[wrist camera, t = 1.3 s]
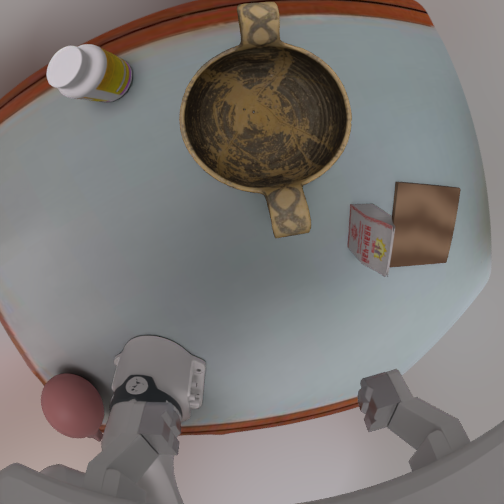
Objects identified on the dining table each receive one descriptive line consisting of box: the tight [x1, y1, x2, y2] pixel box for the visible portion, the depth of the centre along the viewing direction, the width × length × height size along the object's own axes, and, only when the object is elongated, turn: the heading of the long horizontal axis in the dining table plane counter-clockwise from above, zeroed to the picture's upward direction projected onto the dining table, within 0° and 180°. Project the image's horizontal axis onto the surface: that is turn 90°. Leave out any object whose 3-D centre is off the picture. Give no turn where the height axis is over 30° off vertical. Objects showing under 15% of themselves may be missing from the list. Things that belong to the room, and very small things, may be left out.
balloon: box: [41, 373, 104, 441], centre depth 47 cm, size 15×20×15 cm
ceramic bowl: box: [179, 2, 352, 238], centre depth 27 cm, size 22×17×15 cm
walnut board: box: [389, 182, 460, 267], centre depth 41 cm, size 14×14×1 cm
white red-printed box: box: [348, 204, 395, 277], centre depth 36 cm, size 4×7×10 cm, turn 3°
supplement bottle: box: [47, 44, 132, 102], centre depth 24 cm, size 7×7×13 cm
